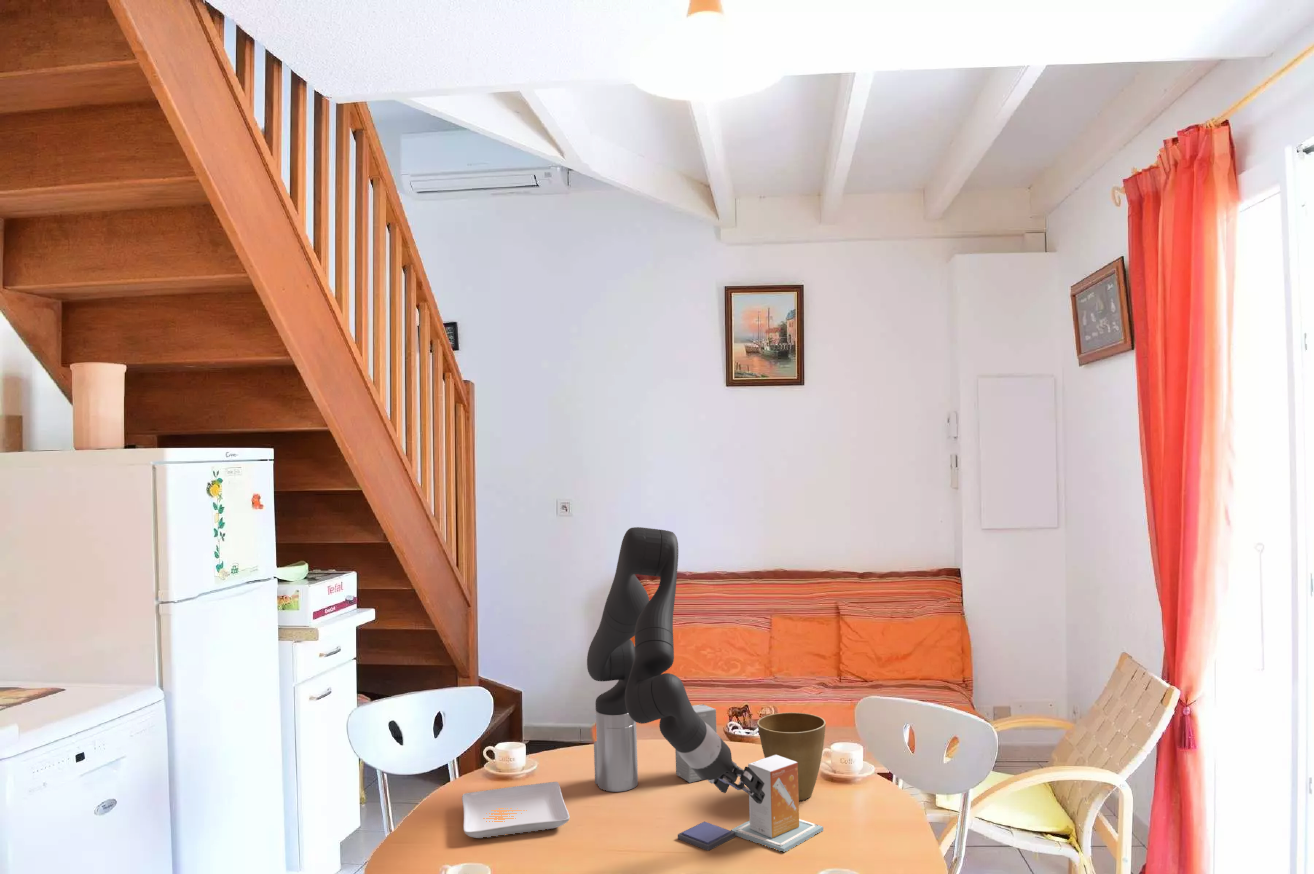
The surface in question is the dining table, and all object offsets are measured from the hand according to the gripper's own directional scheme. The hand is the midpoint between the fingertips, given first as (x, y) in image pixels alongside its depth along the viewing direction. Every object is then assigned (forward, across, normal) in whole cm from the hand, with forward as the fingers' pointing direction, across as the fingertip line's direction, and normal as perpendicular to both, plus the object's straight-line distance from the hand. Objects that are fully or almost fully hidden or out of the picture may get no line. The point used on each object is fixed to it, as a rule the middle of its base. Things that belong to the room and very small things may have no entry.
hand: (743, 793), depth 171 cm
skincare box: (+24, +33, -9) cm, 42 cm away
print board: (+15, 0, 0) cm, 15 cm away
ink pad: (+7, +9, +8) cm, 14 cm away
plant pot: (+28, +9, -12) cm, 32 cm away
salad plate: (-6, +46, +22) cm, 51 cm away
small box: (+14, 0, 0) cm, 14 cm away
